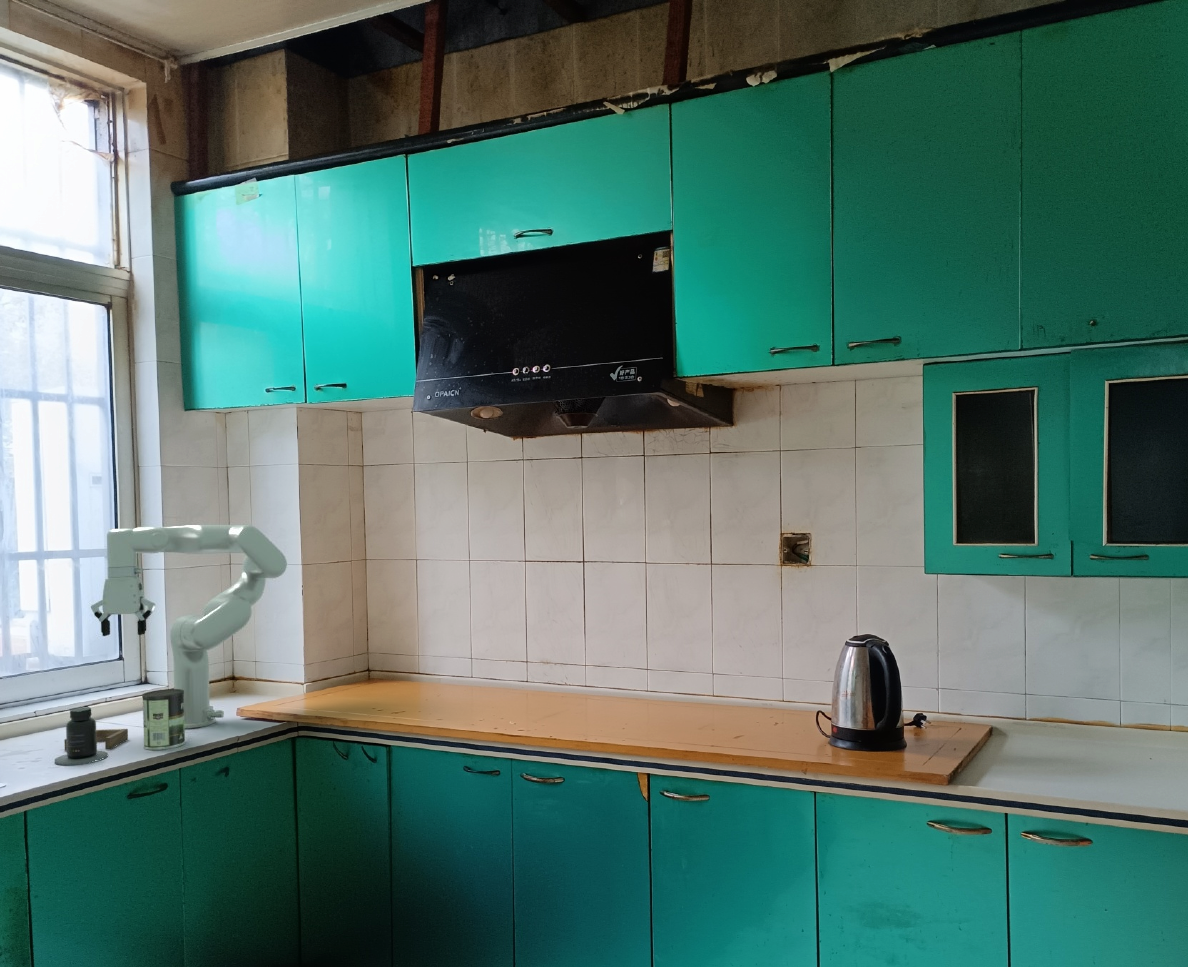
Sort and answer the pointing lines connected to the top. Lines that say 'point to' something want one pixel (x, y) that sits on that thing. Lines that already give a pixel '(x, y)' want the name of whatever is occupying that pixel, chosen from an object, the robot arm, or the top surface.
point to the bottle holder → (109, 737)
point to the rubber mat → (66, 761)
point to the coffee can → (163, 719)
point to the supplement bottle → (81, 734)
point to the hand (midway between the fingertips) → (123, 634)
